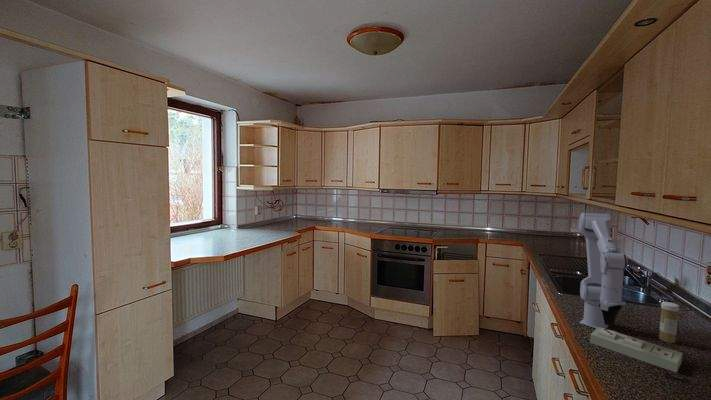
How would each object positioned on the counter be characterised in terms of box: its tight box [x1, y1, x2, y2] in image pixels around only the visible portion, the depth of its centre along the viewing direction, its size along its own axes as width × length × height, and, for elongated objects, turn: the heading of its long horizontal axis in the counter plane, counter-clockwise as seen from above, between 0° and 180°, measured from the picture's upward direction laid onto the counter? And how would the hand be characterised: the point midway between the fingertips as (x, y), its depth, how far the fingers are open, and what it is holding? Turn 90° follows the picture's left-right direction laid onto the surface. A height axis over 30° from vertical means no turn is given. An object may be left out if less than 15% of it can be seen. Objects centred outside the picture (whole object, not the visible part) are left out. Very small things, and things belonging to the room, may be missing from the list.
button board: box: [589, 327, 684, 374], centre depth 109 cm, size 9×22×3 cm, turn 38°
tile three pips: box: [599, 328, 619, 340], centre depth 114 cm, size 4×4×2 cm
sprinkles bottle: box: [658, 301, 680, 344], centre depth 116 cm, size 5×5×14 cm
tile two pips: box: [652, 347, 673, 358], centre depth 103 cm, size 4×4×2 cm
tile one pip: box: [624, 335, 645, 349], centre depth 109 cm, size 4×4×2 cm
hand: (608, 324), depth 114 cm, fingers closed
